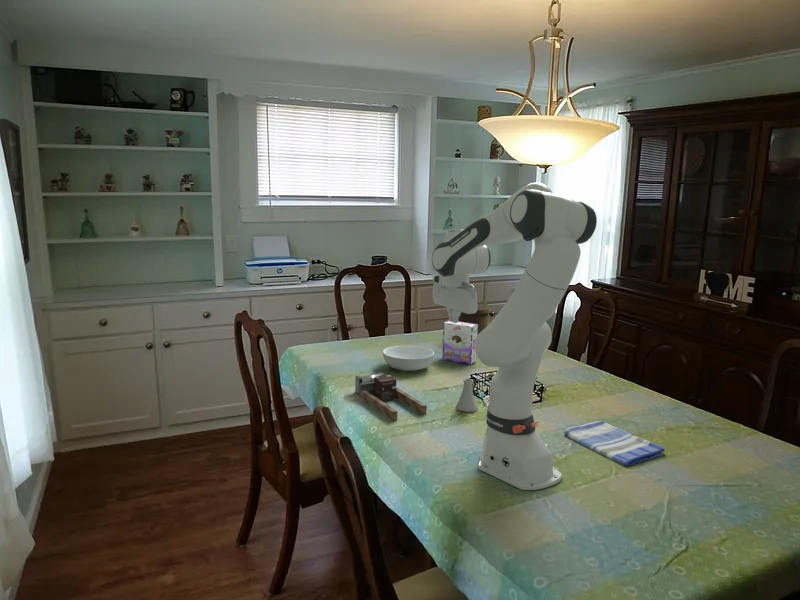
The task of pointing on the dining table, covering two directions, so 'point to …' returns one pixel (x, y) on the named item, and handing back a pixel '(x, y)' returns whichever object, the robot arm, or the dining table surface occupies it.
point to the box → (385, 388)
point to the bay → (368, 396)
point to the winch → (365, 380)
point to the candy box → (459, 342)
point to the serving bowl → (408, 357)
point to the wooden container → (476, 317)
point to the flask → (467, 398)
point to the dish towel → (614, 443)
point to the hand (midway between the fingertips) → (453, 322)
